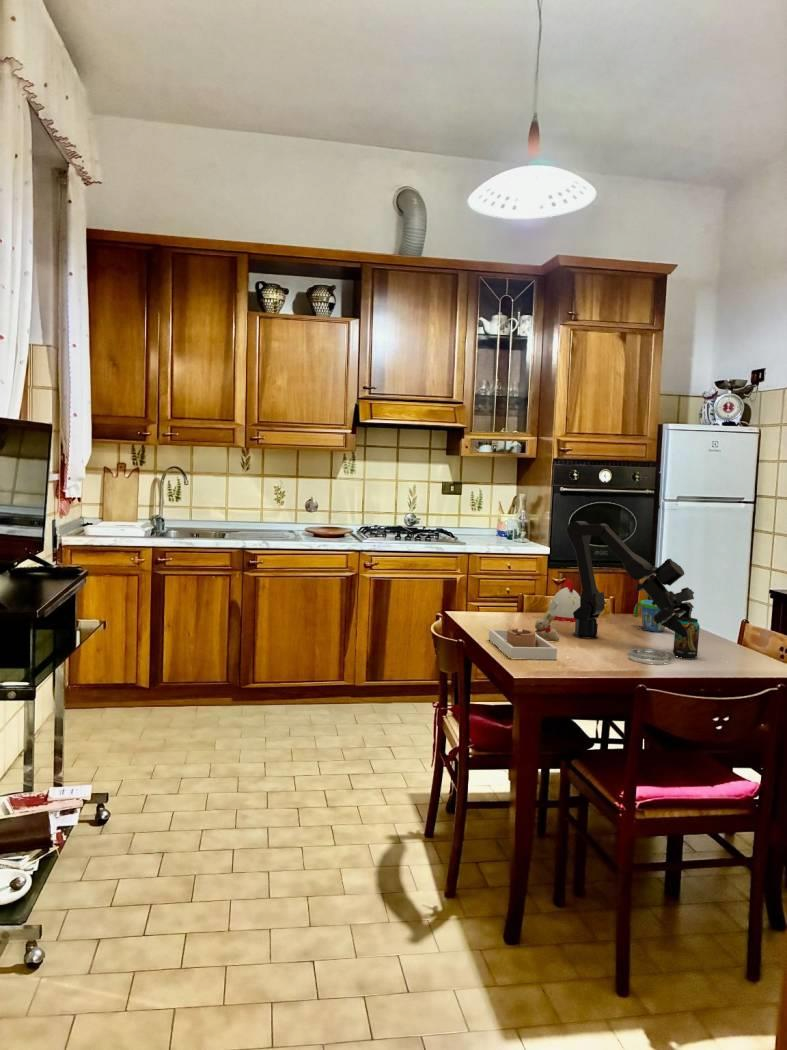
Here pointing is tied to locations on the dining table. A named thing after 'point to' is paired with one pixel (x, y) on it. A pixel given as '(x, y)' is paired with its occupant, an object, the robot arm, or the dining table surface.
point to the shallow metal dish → (649, 656)
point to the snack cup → (649, 616)
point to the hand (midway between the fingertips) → (691, 635)
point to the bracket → (521, 638)
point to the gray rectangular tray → (540, 651)
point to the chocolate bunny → (546, 628)
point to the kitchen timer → (565, 603)
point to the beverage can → (687, 639)
